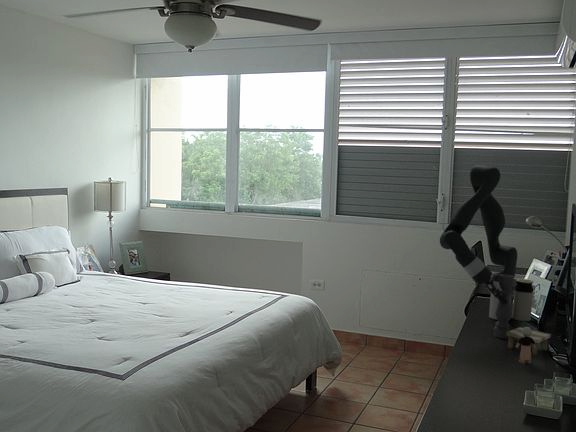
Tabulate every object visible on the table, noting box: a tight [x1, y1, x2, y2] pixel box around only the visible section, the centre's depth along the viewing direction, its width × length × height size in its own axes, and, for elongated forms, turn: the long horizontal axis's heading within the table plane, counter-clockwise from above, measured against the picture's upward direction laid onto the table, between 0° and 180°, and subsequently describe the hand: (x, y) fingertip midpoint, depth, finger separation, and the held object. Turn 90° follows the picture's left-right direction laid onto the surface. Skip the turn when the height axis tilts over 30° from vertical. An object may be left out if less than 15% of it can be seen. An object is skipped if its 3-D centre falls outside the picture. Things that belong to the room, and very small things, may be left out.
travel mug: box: [511, 278, 534, 322], centre depth 275 cm, size 8×8×18 cm
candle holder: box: [492, 274, 515, 340], centre depth 245 cm, size 6×6×25 cm
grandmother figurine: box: [515, 326, 536, 364], centre depth 214 cm, size 8×4×13 cm, turn 111°
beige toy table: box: [506, 326, 552, 356], centre depth 231 cm, size 12×12×6 cm
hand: (504, 301), depth 245 cm, fingers open, 8 cm apart
